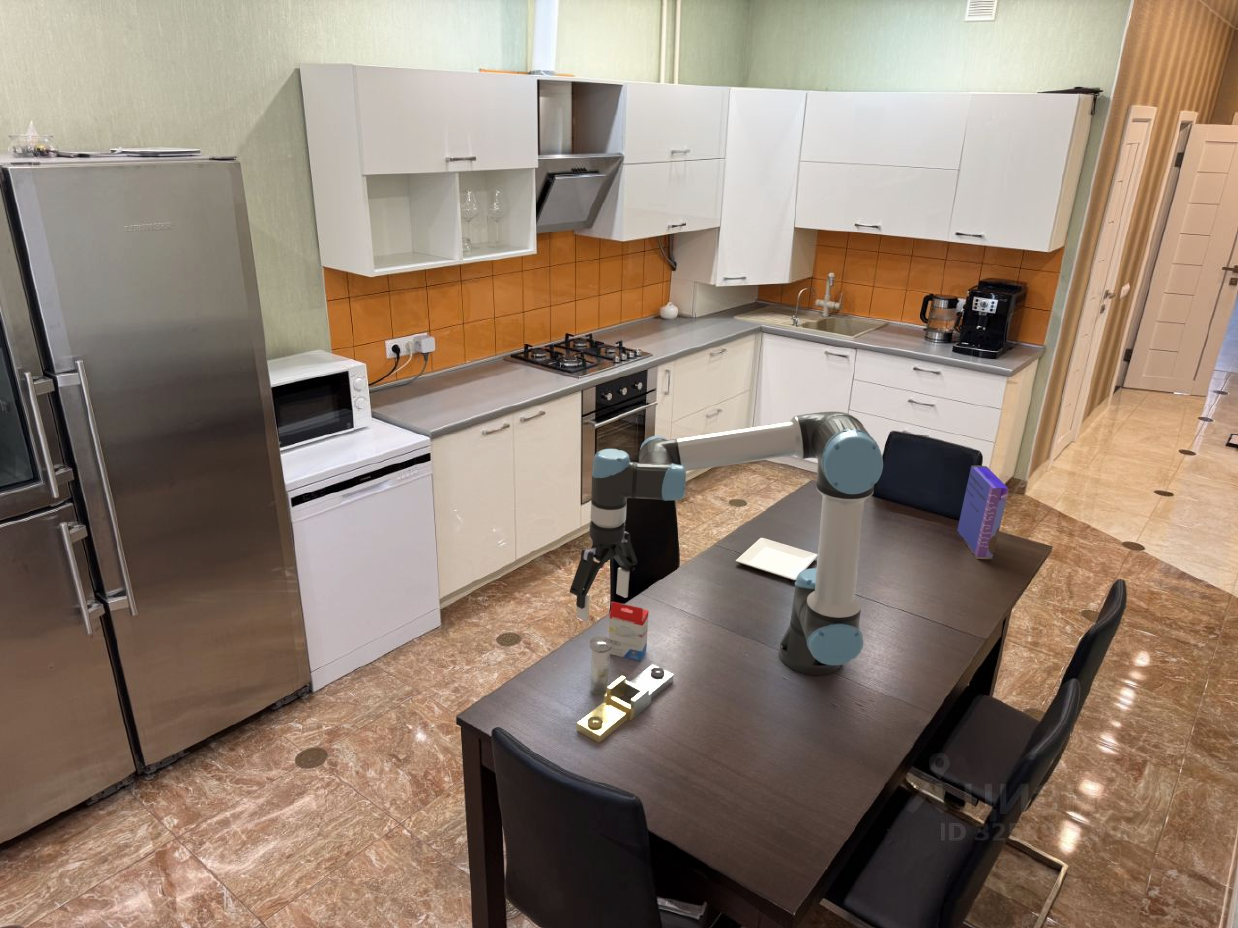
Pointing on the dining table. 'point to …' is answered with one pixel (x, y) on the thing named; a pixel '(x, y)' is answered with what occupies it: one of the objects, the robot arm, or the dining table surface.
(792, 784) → the dining table surface
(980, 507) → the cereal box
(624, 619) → the ink box
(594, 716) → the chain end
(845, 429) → the robot arm
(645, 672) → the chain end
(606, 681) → the pin
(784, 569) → the plate
